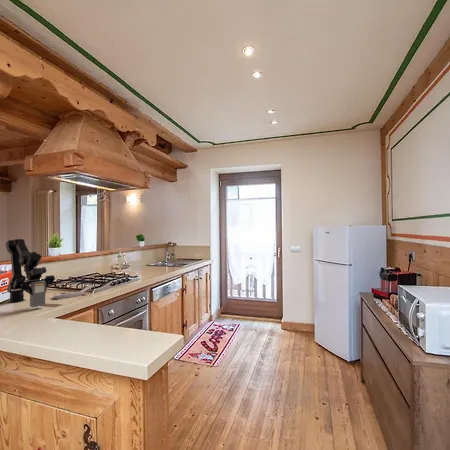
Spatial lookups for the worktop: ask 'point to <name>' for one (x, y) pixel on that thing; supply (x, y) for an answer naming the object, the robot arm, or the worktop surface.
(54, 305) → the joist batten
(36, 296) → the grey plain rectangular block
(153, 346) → the worktop surface
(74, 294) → the mobile phone
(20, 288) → the robot arm
